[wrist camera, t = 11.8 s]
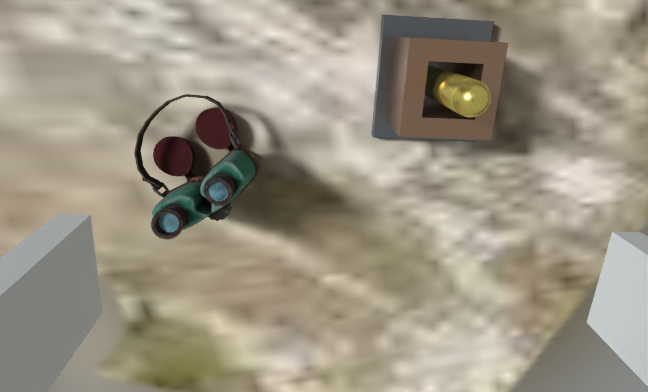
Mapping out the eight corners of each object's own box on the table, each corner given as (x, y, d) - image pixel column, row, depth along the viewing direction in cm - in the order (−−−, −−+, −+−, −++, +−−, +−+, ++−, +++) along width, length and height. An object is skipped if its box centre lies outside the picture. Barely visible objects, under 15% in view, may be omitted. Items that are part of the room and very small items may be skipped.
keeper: (382, 15, 39) (416, 10, 27) (489, 21, 39) (566, 19, 28) (371, 134, 42) (397, 175, 31) (470, 139, 43) (531, 180, 31)
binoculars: (175, 79, 31) (263, 205, 33) (213, 77, 41) (278, 173, 43) (69, 152, 32) (160, 269, 34) (132, 133, 42) (199, 223, 44)
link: (394, 36, 39) (410, 37, 33) (478, 40, 39) (508, 42, 33) (386, 121, 41) (399, 136, 35) (465, 124, 41) (491, 140, 36)
